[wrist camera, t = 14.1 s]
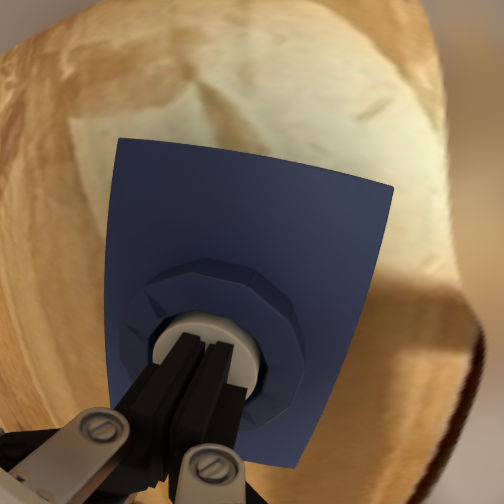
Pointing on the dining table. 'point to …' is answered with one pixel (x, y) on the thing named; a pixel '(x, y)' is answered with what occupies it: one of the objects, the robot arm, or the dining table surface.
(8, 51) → the dining table surface
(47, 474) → the robot arm
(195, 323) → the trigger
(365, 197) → the button housing
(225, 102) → the dining table surface
